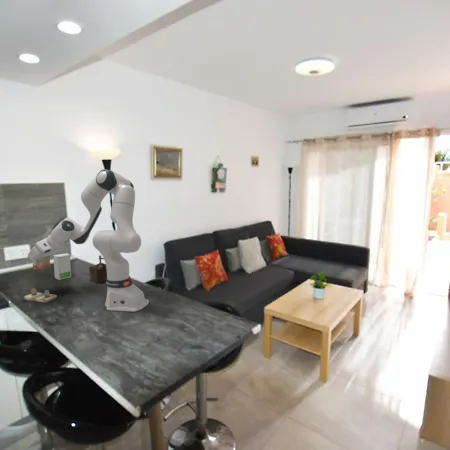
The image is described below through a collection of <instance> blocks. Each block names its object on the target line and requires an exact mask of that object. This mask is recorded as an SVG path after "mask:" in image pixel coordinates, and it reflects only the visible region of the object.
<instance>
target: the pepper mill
mask: <svg viewBox="0 0 450 450" xmlns="http://www.w3.org/2000/svg"><path fill="white" fill-rule="evenodd" d="M98 260H99V263H97V264H95V265H91V266H89V281H90V282H93V283H94V284H99V283H100V284H103V283H106V279H107V269H106V263H104V262H102V260H104V258H103V257H102V254H99V255H98Z"/></svg>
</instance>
